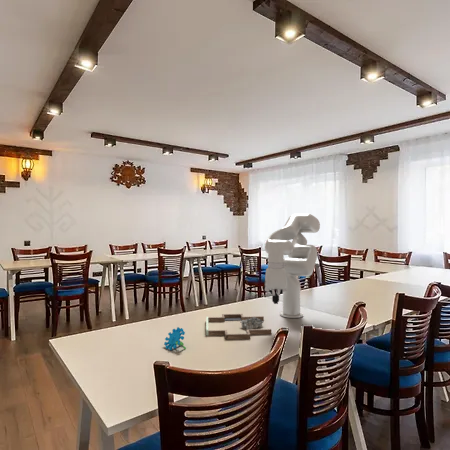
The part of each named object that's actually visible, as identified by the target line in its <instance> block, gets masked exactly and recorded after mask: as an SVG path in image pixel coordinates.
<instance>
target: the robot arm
mask: <svg viewBox="0 0 450 450" xmlns="http://www.w3.org/2000/svg"><path fill="white" fill-rule="evenodd" d="M320 228H321V224H320V220H319V219H318V218H317V217H316V216H314V215H313V214H310V213H293V214H291V215H290V216H289V217H288V219H287V220H286V222H285V224H284V225H283V227H282V228H280V229H277V230H275V231H274V232H272V233H271V234H269V236H268V237H267V240H265V241H266V242H265V244H264V249H265V252H266V253H267V254H268V256H267V264H268V266H267V268H266V269H265V274H264V275H265V278H264V291H265V292H267V293H268V292H269V293H270V294H271V295H272V296H271V297H272V299H271V300H272V302H273V304H274V305H276V304H277V305H278V304H279V303H280V296H281V295H282V310H281V311H280V312H279V315H280V316H281V317H283V318H288V319H298V318H303V316H304V313H303V312H302V311H301V282H300V280H299V278H298V277H310V276H312V275H313V272H314V269H315V265H316V262H317V258H318V249H317V247H316V246H315V245H313V244H308V240H307V238H306V237H305V235H303V234H302V233H304V234H305V233H306V234H307V233H309V234H312V233H313V234H315V233H318V232H319V231H320ZM291 240H292V241H291ZM284 256H288V257H286V258H285V257H284ZM275 290H276V292H275Z"/></svg>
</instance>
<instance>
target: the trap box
mask: <svg viewBox="0 0 450 450" xmlns="http://www.w3.org/2000/svg"><path fill="white" fill-rule="evenodd" d="M207 317H208V323H213V322H217V323H219V322H220V323H221V322H226V321H225V318H241V320H247V319H250V318H253V317H256V318H258V319H260V320H262V321H265V318H264V316H263V315H261V316H260V315H259V316H254V315H253V316H244V315H243V313H222V314H221V316H220V317H219V316H215V317H214V316H213V317H211V316H210V317H209V316H207ZM245 331H246V333H228V329H219V330H218V329H216V330H213V329H211V330H210V329H208V337H209V336H224V337H225V338H224V339H225V340H246V339H247V340H249V339H250V340H251V335H272V328H260V329H259V328H257V329H256V328H253V329H250V330H247V329H246V330H245Z"/></svg>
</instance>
